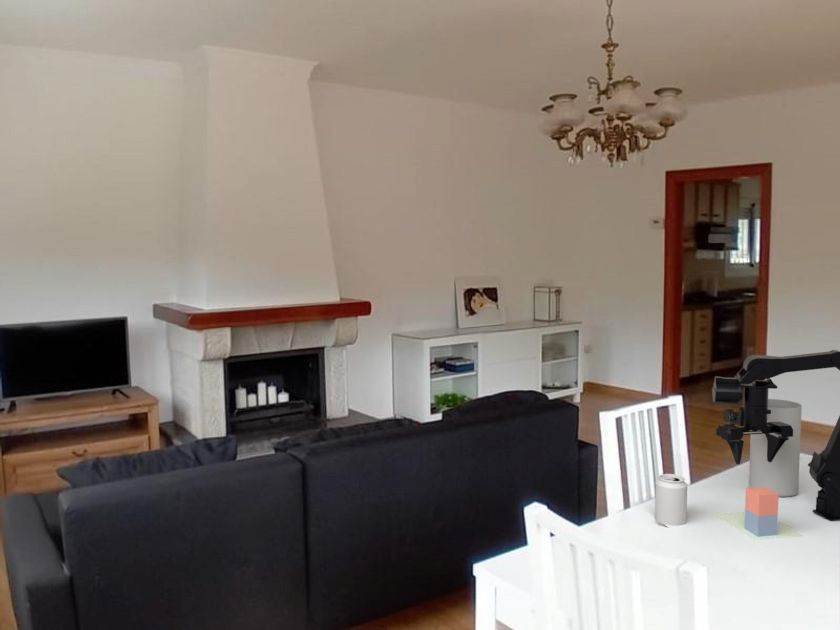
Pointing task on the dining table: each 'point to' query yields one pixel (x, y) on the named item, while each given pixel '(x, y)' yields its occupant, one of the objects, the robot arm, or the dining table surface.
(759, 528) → the blue brick
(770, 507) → the red brick
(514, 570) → the dining table surface
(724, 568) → the dining table surface
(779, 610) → the dining table surface
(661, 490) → the can
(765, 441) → the gray cylinder
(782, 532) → the build board
